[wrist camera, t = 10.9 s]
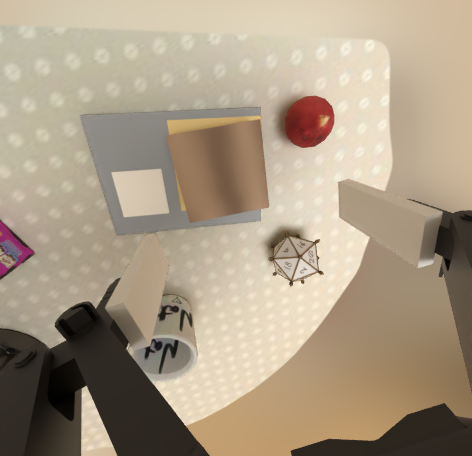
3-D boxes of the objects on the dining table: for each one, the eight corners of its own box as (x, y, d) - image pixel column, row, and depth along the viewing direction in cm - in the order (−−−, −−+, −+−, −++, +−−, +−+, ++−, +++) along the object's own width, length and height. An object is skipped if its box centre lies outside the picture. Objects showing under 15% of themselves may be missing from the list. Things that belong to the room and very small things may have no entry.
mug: (205, 294, 41) (206, 340, 32) (184, 348, 46) (179, 402, 37) (148, 282, 38) (131, 329, 29) (131, 341, 43) (113, 397, 34)
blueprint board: (119, 232, 34) (116, 236, 33) (84, 115, 27) (78, 115, 26) (259, 218, 36) (261, 221, 35) (258, 107, 29) (261, 106, 28)
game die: (273, 230, 42) (278, 219, 32) (318, 242, 41) (338, 233, 31) (261, 277, 40) (263, 279, 31) (308, 290, 39) (325, 297, 29)
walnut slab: (192, 207, 32) (189, 223, 27) (173, 134, 28) (165, 135, 23) (258, 194, 33) (269, 207, 27) (249, 120, 29) (260, 119, 23)
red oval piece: (315, 143, 32) (347, 147, 25) (277, 147, 32) (299, 153, 25) (317, 97, 30) (354, 88, 23) (276, 102, 30) (300, 93, 22)
